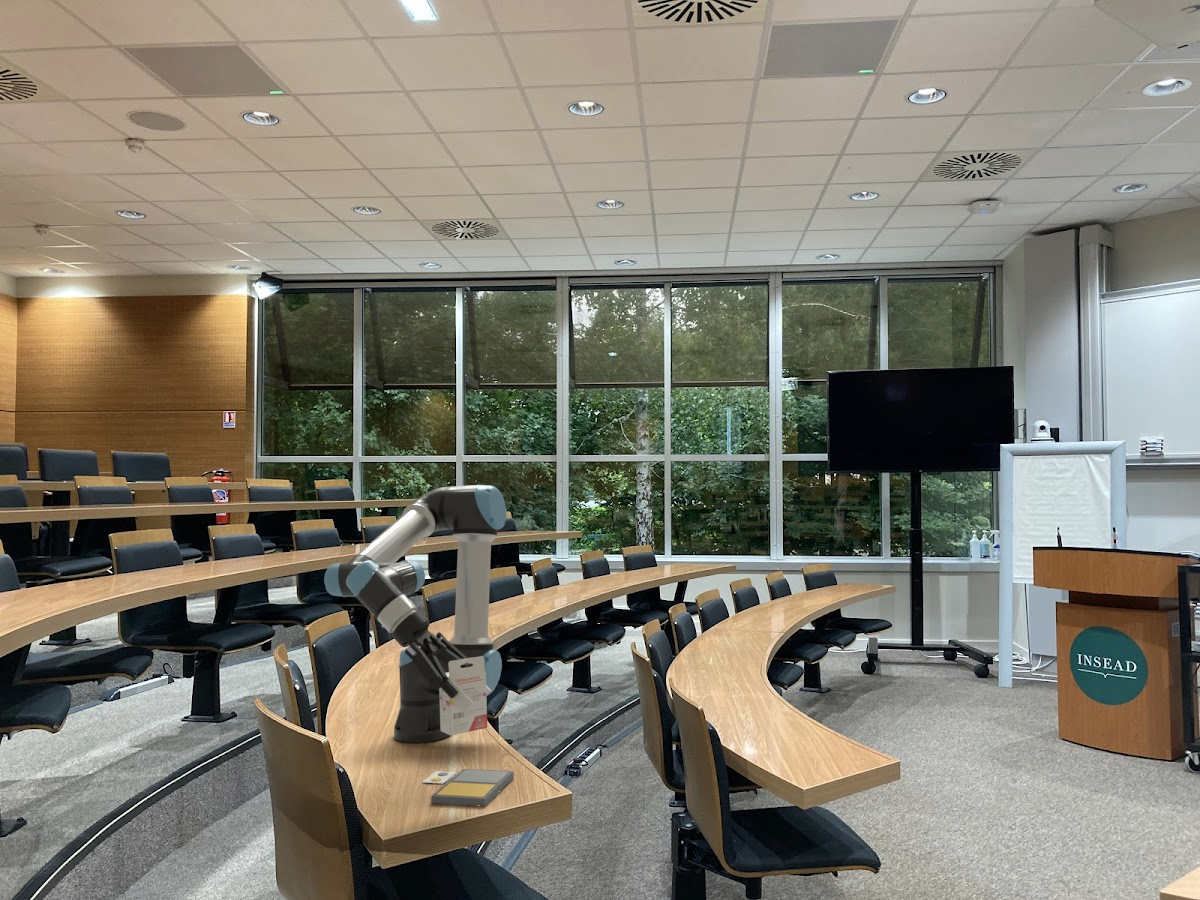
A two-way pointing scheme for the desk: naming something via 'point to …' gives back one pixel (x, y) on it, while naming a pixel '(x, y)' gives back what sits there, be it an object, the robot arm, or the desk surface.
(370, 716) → the desk surface
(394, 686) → the desk surface
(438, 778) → the pattern card
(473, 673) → the ink cartridge box
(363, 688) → the desk surface
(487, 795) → the pad board
